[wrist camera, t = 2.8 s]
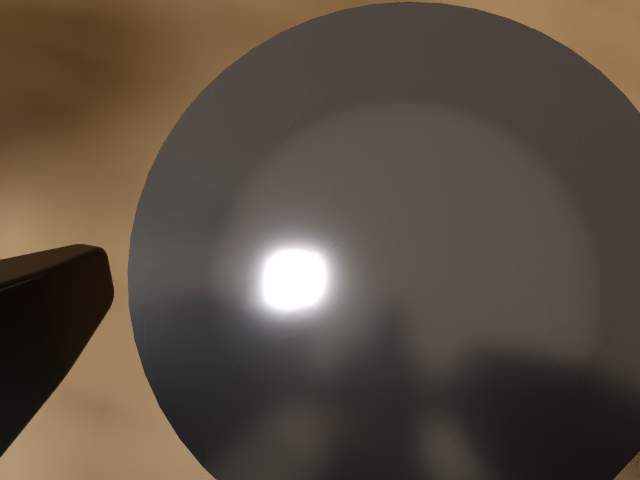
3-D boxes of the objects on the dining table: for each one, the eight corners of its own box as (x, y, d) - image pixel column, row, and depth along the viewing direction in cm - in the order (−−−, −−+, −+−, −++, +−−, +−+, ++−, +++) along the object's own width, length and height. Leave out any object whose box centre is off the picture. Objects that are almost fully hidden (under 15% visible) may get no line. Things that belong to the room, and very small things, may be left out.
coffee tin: (505, 429, 17) (759, 551, 5) (313, 437, 17) (119, 563, 5) (482, 240, 18) (641, -30, 6) (305, 254, 18) (133, 34, 7)
